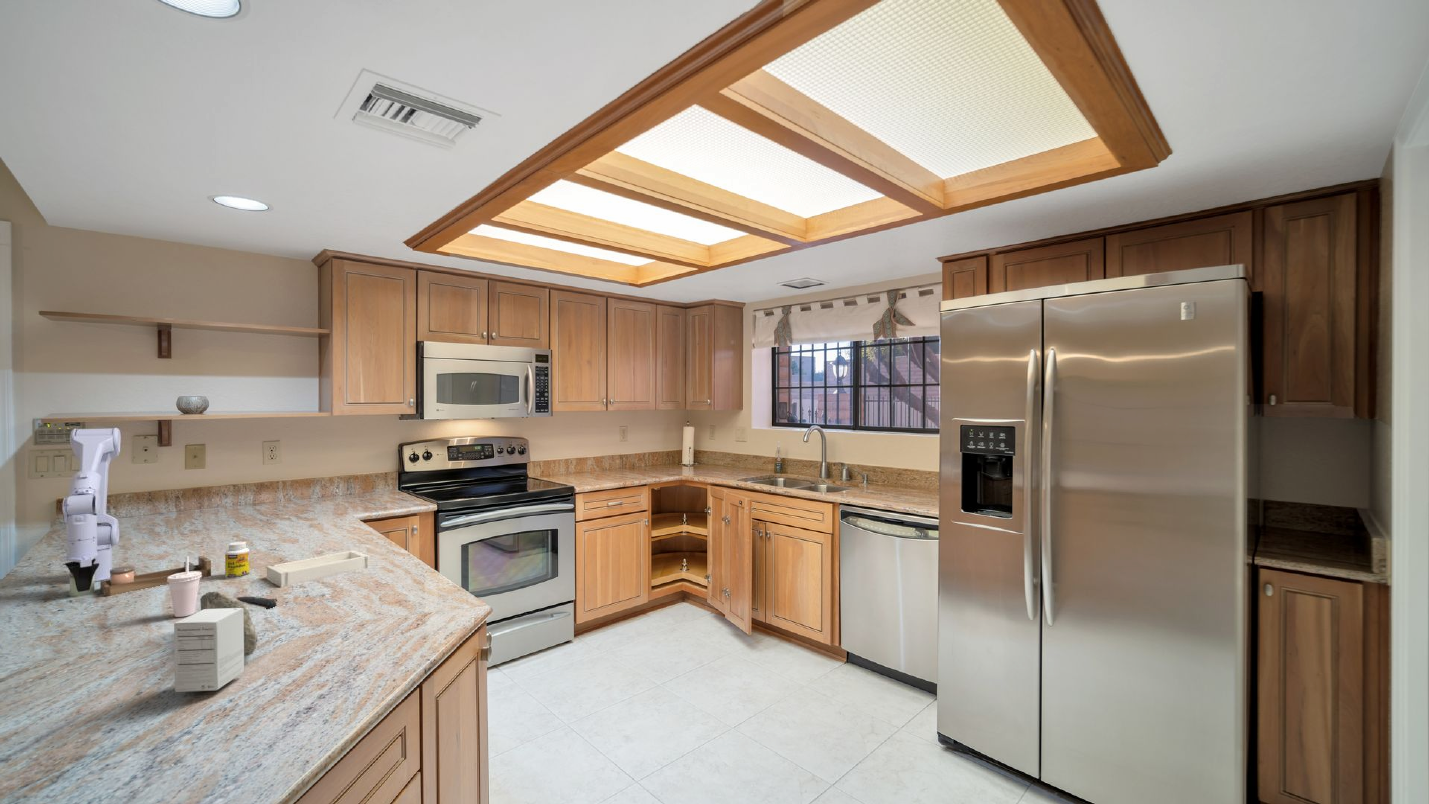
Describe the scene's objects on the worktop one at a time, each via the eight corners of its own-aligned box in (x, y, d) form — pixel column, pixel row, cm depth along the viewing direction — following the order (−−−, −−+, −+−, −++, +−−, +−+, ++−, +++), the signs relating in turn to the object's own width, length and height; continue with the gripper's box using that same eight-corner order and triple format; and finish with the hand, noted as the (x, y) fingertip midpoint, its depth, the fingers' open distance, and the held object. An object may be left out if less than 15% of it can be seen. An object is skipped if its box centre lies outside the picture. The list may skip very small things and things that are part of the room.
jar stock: (108, 590, 163) (108, 569, 163) (132, 586, 167) (132, 565, 167) (111, 594, 160) (111, 572, 160) (136, 589, 164) (136, 568, 164)
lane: (100, 590, 163) (100, 572, 163) (202, 572, 180) (202, 555, 180) (106, 597, 158) (106, 578, 158) (210, 577, 175) (210, 560, 175)
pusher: (184, 575, 176) (183, 562, 176) (192, 574, 177) (192, 560, 177) (189, 579, 172) (189, 565, 172) (198, 577, 174) (198, 564, 174)
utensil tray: (266, 580, 172) (266, 566, 172) (353, 562, 191) (353, 550, 191) (281, 588, 165) (281, 573, 165) (370, 569, 183) (370, 556, 183)
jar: (68, 594, 159) (67, 572, 159) (93, 590, 163) (93, 568, 163) (70, 598, 157) (70, 575, 157) (96, 593, 160) (96, 571, 160)
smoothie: (208, 611, 147) (208, 555, 147) (177, 620, 141) (177, 561, 141) (191, 608, 149) (191, 552, 149) (160, 617, 143) (160, 559, 143)
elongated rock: (189, 629, 135) (189, 586, 135) (219, 622, 140) (218, 580, 140) (240, 670, 115) (239, 619, 115) (272, 661, 119) (272, 611, 119)
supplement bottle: (223, 581, 171) (223, 546, 171) (226, 576, 175) (226, 542, 175) (248, 578, 174) (248, 543, 174) (250, 573, 179) (250, 540, 179)
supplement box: (204, 673, 113) (204, 608, 113) (245, 672, 114) (245, 606, 114) (172, 692, 106) (172, 622, 106) (216, 691, 106) (216, 621, 106)
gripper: (56, 537, 161) (56, 587, 161) (63, 545, 152) (63, 598, 152) (93, 533, 167) (94, 581, 167) (102, 540, 158) (102, 591, 158)
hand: (82, 589), depth 160 cm, fingers closed on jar, 5 cm apart
